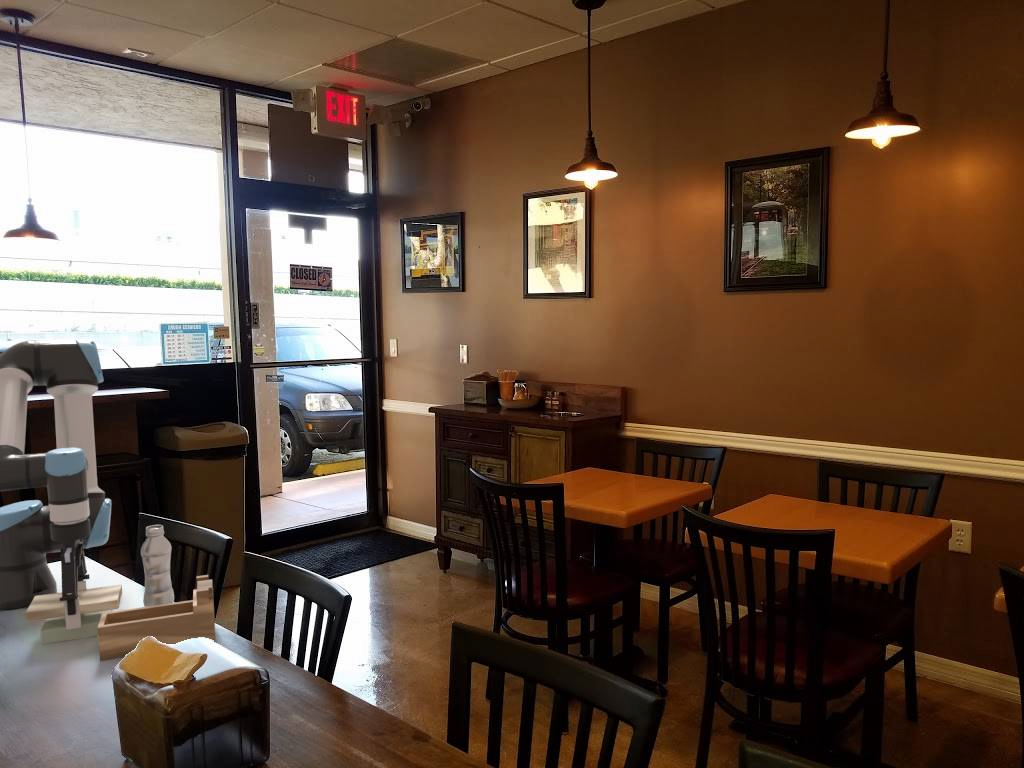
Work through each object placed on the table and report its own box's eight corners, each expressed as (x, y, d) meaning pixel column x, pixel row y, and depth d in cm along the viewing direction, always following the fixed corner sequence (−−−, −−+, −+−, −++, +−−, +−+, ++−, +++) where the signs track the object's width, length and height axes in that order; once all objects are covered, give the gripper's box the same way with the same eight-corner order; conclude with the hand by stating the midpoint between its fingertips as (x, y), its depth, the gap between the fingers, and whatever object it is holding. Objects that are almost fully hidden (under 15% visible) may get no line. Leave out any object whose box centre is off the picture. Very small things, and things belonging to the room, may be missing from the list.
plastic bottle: (140, 609, 184) (134, 527, 182) (169, 601, 189) (164, 521, 186) (148, 617, 179) (143, 533, 177) (179, 609, 184) (174, 527, 182)
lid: (35, 604, 172) (35, 595, 172) (122, 593, 179) (121, 584, 178) (26, 621, 163) (25, 612, 163) (117, 608, 169) (117, 600, 169)
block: (198, 591, 170) (197, 581, 170) (212, 589, 171) (212, 579, 171) (197, 600, 165) (197, 589, 165) (213, 598, 167) (212, 587, 166)
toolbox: (104, 642, 166) (101, 588, 165) (214, 625, 175) (211, 574, 173) (99, 662, 157) (95, 605, 156) (215, 644, 165) (212, 589, 164)
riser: (47, 631, 173) (46, 618, 172) (113, 621, 177) (112, 608, 177) (41, 644, 166) (40, 630, 166) (109, 633, 171) (108, 620, 170)
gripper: (59, 508, 178) (66, 602, 180) (40, 536, 157) (48, 642, 159) (96, 505, 181) (102, 597, 183) (82, 532, 160) (89, 636, 162)
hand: (77, 618), depth 171 cm, fingers closed on lid, 10 cm apart
